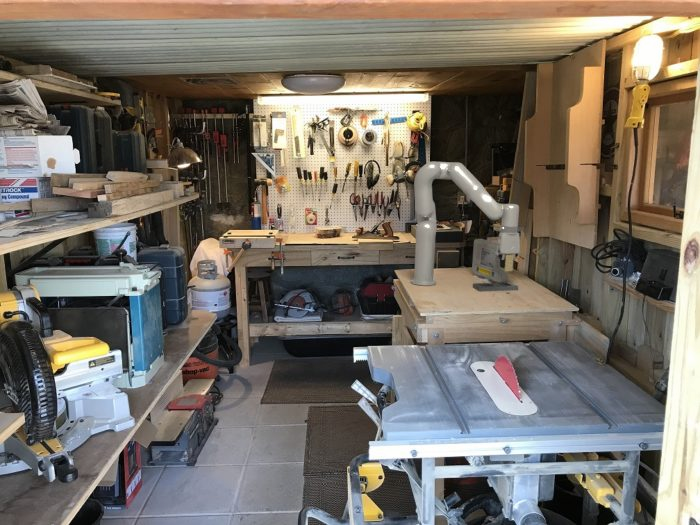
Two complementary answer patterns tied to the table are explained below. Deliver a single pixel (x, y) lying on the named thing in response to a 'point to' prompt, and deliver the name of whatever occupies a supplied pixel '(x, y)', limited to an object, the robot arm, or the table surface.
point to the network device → (487, 262)
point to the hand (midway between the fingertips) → (506, 267)
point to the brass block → (508, 262)
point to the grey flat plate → (495, 286)
